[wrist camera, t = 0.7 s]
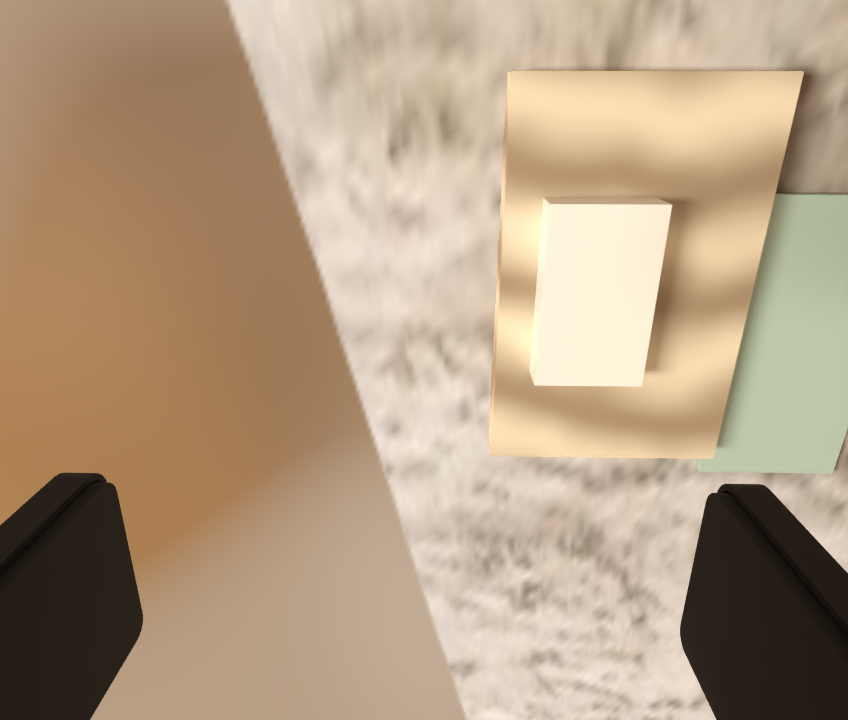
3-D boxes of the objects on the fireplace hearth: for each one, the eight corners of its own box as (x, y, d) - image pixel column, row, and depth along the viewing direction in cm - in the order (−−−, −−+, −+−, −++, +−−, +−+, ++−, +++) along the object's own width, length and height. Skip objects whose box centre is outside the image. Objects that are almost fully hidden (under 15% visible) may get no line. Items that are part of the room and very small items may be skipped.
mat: (757, 193, 33) (761, 194, 32) (919, 194, 33) (925, 195, 32) (696, 467, 40) (699, 471, 40) (828, 469, 40) (832, 473, 39)
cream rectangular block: (543, 197, 31) (550, 203, 29) (658, 198, 31) (672, 204, 29) (529, 370, 35) (534, 385, 33) (631, 371, 35) (641, 386, 33)
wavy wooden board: (507, 72, 31) (512, 70, 29) (782, 72, 30) (804, 70, 28) (488, 439, 39) (491, 456, 38) (700, 442, 39) (713, 458, 37)
